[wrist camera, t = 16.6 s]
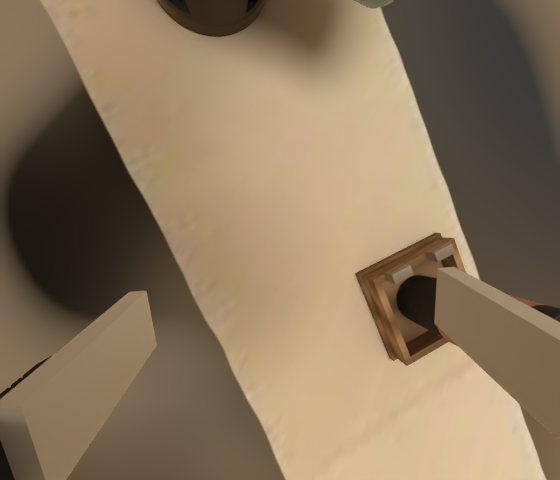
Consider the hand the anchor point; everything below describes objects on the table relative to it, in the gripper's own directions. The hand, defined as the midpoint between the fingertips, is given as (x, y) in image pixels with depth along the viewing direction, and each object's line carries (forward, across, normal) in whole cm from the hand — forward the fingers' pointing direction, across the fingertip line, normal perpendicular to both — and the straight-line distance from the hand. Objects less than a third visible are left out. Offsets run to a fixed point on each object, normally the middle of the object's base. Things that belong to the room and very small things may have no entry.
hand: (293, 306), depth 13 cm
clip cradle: (+30, +20, -15) cm, 39 cm away
